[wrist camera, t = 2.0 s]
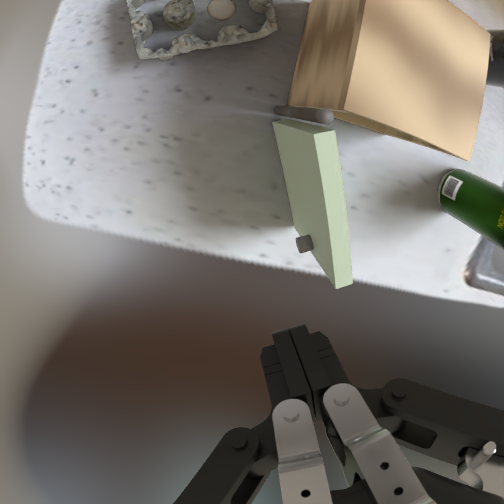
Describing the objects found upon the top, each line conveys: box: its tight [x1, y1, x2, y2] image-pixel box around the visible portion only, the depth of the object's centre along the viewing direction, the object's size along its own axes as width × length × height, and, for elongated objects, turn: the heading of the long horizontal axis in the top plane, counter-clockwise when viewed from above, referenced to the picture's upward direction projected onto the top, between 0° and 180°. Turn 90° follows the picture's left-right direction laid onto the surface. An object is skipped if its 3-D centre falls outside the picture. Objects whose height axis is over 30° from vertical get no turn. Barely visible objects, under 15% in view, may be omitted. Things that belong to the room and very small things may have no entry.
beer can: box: [438, 169, 504, 250], centre depth 24 cm, size 5×5×12 cm
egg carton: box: [127, 0, 278, 61], centre depth 17 cm, size 11×8×4 cm
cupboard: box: [274, 0, 491, 161], centre depth 18 cm, size 11×11×11 cm
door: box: [272, 119, 353, 289], centre depth 21 cm, size 2×10×10 cm, turn 13°
